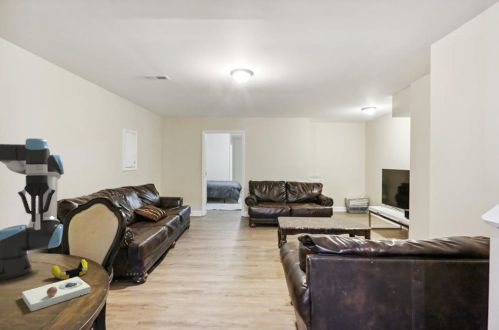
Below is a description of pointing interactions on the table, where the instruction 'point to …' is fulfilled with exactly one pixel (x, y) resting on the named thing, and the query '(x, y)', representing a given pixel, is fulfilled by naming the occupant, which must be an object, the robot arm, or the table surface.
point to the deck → (40, 299)
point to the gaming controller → (70, 271)
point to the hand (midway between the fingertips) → (37, 229)
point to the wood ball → (51, 291)
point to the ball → (69, 285)
